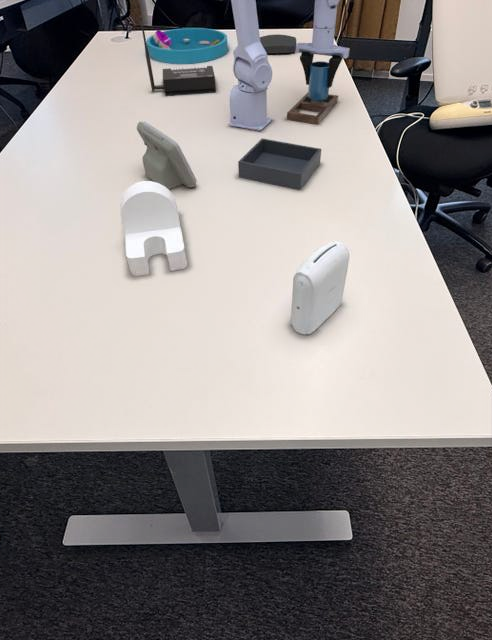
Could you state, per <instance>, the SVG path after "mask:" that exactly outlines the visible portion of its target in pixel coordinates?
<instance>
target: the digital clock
mask: <svg viewBox="0 0 492 640" xmlns="http://www.w3.org/2000/svg"><path fill="white" fill-rule="evenodd" d="M136 131H137V132H138V134H139V136H140V138H141V140H142V141H143V145H144V146H146V149H145V153H144V154H143V155H142V159H141V160H142V164H143V167H144V174H145V176H146V177H147V178H148V179H150V181H152V182H156V183H159V184H161V185H163V186H165V187H166V188H167V189H168V190H169V191H170V190H172V189H174V188H177V187H180V186H182V185H184V186H186V187H187V188H194V187H196V186H197V178H196V175H195V174H194V172H193V170H192V168H191V165H190V164H189V162H188V160H187V158H186V157H185V154H184V153H183V151H182V149H181V146H180V145H179V144H178V142H177V141H175V140H174V139H172V138H171V137H170V136H168V135H167V134H165V133H163V132H162V131H161V130H160V129H157V128H156V127H154V126H153V125H151V124H150V123H148V122H146V121H139V122H138V123H137V125H136Z"/></svg>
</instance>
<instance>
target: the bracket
mask: <svg viewBox="0 0 492 640" xmlns="http://www.w3.org/2000/svg"><path fill="white" fill-rule="evenodd" d="M120 199H121V200H120V220H121V224H122V229H123V232H124V234H125V235H124V237H125V242H124V243H125V257H126V261H127V263H128V266H129V270H130V273H131V275H132V276H135V277H140V276H146V275H147V276H148V275H150V268H149V267H150V266H149V265H150V264H149V260H150V258H151V257H153V256H155V255H165V256H167V261H168V265H169V271H170V272H173V271H179V270H184V269H186V268H187V267H188V261H187V260H188V259H187V254H186V248H185V242H184V237H183V233H182V226H181V222H180V215H179V209H178V204H177V201H176V198H175V196H174V194H173V193H172V191H171V190H170V189H169V190H168V189H167V188H166V187H165V186H163V185H161V184H159V183H156V182H153V181H152V180H143V181H138V182H135V183H133V184H132V185H130V186H128V187H127V189H126V190H125V191H124V192H123V194H122V195H121V198H120Z"/></svg>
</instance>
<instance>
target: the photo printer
mask: <svg viewBox="0 0 492 640" xmlns="http://www.w3.org/2000/svg"><path fill="white" fill-rule="evenodd" d="M350 255H351V254H350V250H349V248H348V246H347V245H346V244H345V243H343V242H340V241H339V240H334V241H329V242H328V243H326V244H323V245H322V246H320V247H319V248H317V249H316V250H314V251H313V252H312V253H311V254H310V255H309V256H308V257H307V258H305V260H304V261H303V262H302V263H301V264H300V265H299V267H298V268H297V270H296V271H295V273H294V275H293V278H292V279H293V280H292V293H291V310H290V311H291V313H290V324H291V326H292V328H293V331H295V332H297V333H298V334H301V335H304V336H305V335H310V334H312V333H314V332H315V331H316V330H317V329H318V328H319V327H320V326H322V325H323V324H324V322H326V321H327V320H328V319H329V318H330V317H331V316H332V315H333V314H334V313H335V311H337V309H338V308H339V307H340V306H341V304H342V301H343V296H344V292H345V285H346V280H347V274H348V269H349V262H350Z"/></svg>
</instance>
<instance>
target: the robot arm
mask: <svg viewBox="0 0 492 640" xmlns="http://www.w3.org/2000/svg"><path fill="white" fill-rule="evenodd" d="M230 1H231V8H232V14H233V21H234V28H235V33H236V40H237V46H236V47H235V48H234V50H233V57H234V58H233V64H232V71H233V75H234V78H235V79H236V80H237V84H234V85H232V87H231V89H230V92H229V93H230V94H229V113H230V114H229V115H230V116H229V117H230V123H229V126H230V127H236V128H241V129H247V130H252V131H259V132H260V131H262V130H264V129H265V127H267V126H268V125H269V124H270V123H271V122H272V121H273V118H271V117H268V116H267V113H268V112H267V111H268V110H267V109H268V107H267V106H268V105H267V103H268V102H267V100H268V98H267V97H268V94H267V93H268V92H267V91H268V87H269V86H270V84H271V82H272V79H273V68H272V66H271V64H270V62H269V58H268V53H266V51H265V49H264V48H263V46H262V44H261V42H260V37H261V36H260V28H259V26H260V25H259V17H258V9H257V2H256V0H230ZM339 2H340V0H314V9H313V11H314V12H313V23H312V24H313V25H312V37H311V38H312V39H311V42H296V51H295V54H300V56H299V61H300V63H301V66H302V68H303V72H304V79H305V85H307V86H309V73H310V64H311V63H313V62H314V57H315V55H318V56H326V57H330V58H329V59H328V63H329V77H328V88H329V89H330V88H332V87H333V83H334V80H335V76H336V74H337V71H338V69H339V67H340V64H341V63H342V61H343V59H346V60H347V59H348V58H349V57H350V50H351V49H350V47H344V46H340V45H336V44H335V43H334V42H335V34H336V33H335V31H336V22H337V13H338V5H339Z"/></svg>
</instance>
